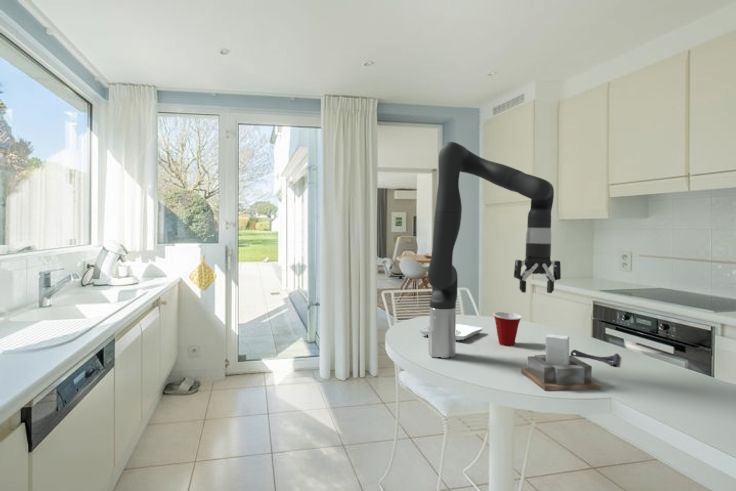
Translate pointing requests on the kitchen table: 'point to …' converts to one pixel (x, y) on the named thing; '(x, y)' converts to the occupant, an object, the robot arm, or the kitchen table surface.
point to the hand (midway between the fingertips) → (536, 292)
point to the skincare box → (557, 349)
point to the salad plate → (464, 329)
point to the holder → (559, 374)
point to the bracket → (603, 359)
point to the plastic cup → (506, 327)
